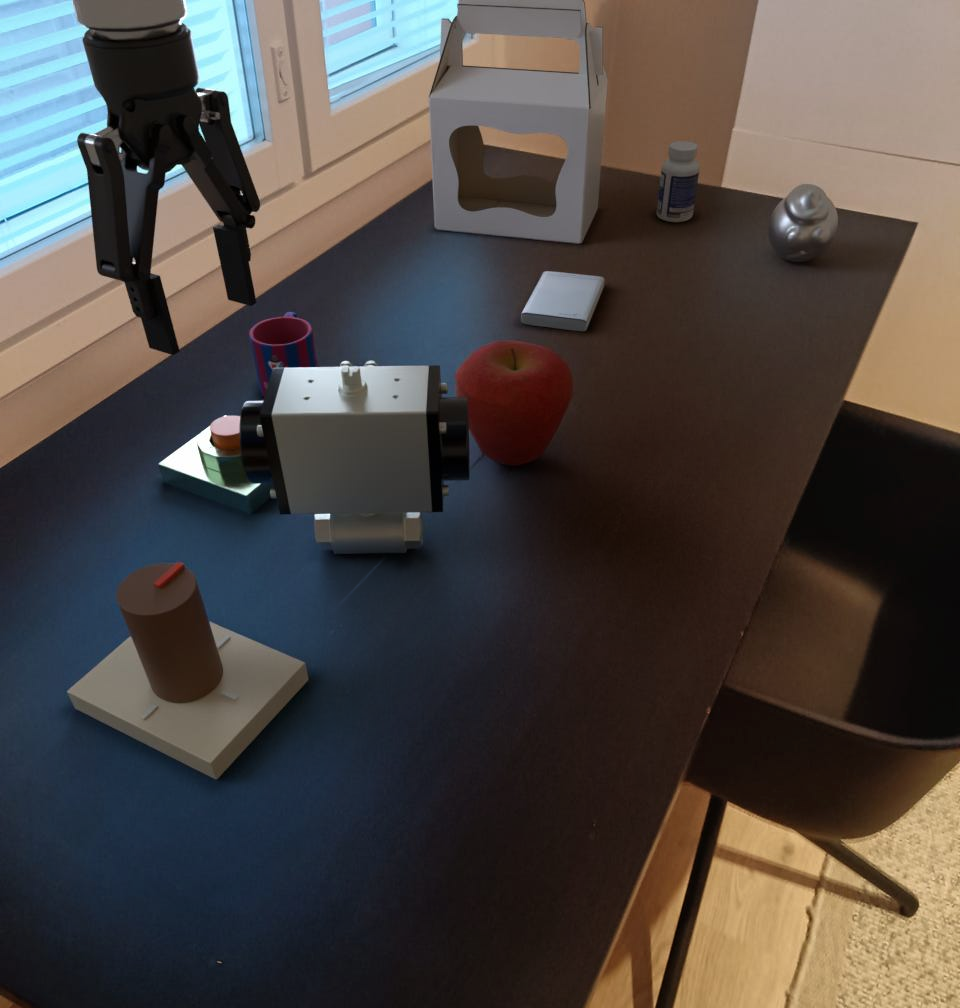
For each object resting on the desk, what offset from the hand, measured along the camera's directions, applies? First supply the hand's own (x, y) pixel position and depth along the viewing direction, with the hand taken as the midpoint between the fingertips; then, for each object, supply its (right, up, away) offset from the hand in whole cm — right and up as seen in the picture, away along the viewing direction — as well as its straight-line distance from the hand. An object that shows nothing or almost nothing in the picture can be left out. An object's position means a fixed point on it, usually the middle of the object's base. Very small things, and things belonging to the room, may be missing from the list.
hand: (204, 324), depth 81 cm
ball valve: (+14, -19, +3) cm, 24 cm away
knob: (+2, -31, -11) cm, 33 cm away
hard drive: (+35, +14, +36) cm, 52 cm away
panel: (+2, -32, -10) cm, 33 cm away
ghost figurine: (+67, +24, +45) cm, 84 cm away
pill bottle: (+53, +35, +56) cm, 85 cm away
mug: (+3, +2, +24) cm, 24 cm away
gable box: (+30, +34, +56) cm, 72 cm away
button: (0, -8, +9) cm, 12 cm away
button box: (0, -11, +11) cm, 16 cm away
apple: (+28, -10, +12) cm, 32 cm away
